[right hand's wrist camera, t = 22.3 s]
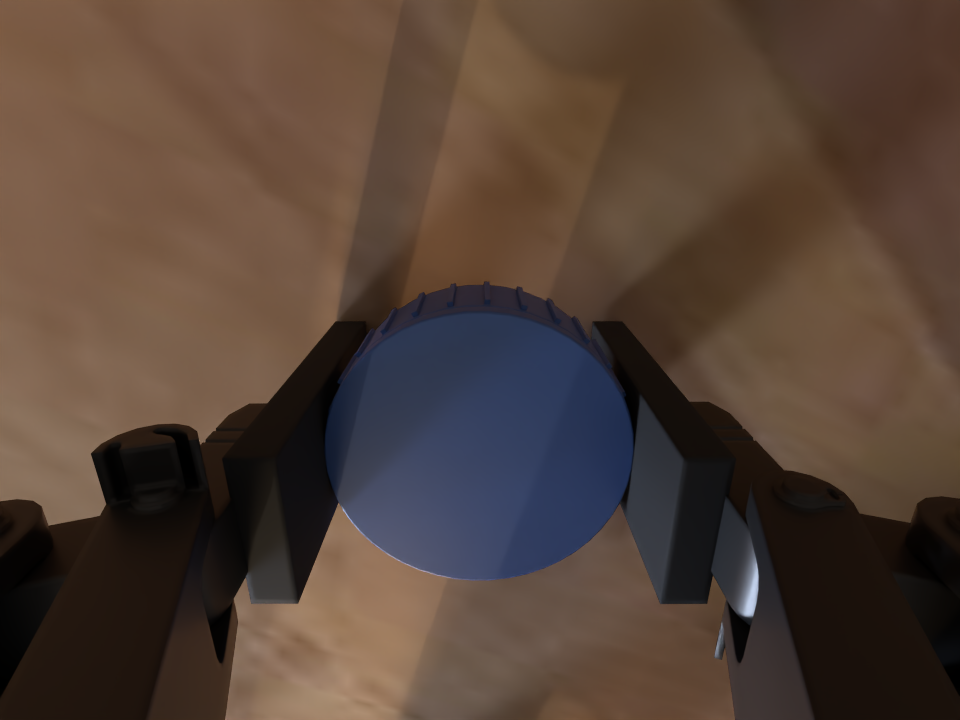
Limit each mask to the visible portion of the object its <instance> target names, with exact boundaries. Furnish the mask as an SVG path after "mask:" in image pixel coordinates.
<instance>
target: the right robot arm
mask: <svg viewBox="0 0 960 720" xmlns="http://www.w3.org/2000/svg"><path fill="white" fill-rule="evenodd" d="M365 338H366V324H365V321H336V322H335V323H334V324H333V325H332V327H331V328H330V329H329V330H328V331H327V333H326V334H325V335H324V336H323V337H322V339H321V340H320V341H319V342H318V343H317V345H316V346H315V347H314V348H313V349H312V351H311V352H310V353H309V354H308V355H307V357H306V358H305V359H304V360H303V361H302V363H301V364H300V365H299V366H298V367H297V369H296V370H295V371H294V372H293V373H292V375H291V376H290V377H289V378H288V379H287V381H286V382H285V383H284V384H283V385H282V387H281V388H280V389H279V390H278V391H277V393H276V394H275V395H274V396H273V397H272V399H271V400H270V401H269V402H268V403H267V404H248V405H246V406H244V407H243V408H241V409H239V410H237V411H235V412H234V413H232V414H230V415H228V416H227V418H226V419H225V420H224V421H223V422H222V423H221V424H220V425H219V426H218V427H217V428H216V431H213V432H212V433H211V435H210V436H209V437H208V438H207V439H206V442H205V443H202V444H201V445H200V443H199V438H198V433H197V431H196V430H194V429H193V428H191V427H190V426H186V425H180V424H158V425H152V426H147V427H142V428H137V429H134V430H131V431H128V432H126V433H123V434H120V435H117V436H115V437H113V438H112V439H110V440H108V441H106V442H104V443H102V444H101V445H100V446H99V447H98V448H96V449H95V450H94V451H93V452H92V453H91V455H92V459H93V462H94V465H95V468H96V472H97V475H98V478H99V482H100V485H101V488H102V491H103V495H104V498H105V501H106V506H105V508H104V510H103V511H102V513H101V515H100V516H97V517H93V518H87V519H82V520H77V521H71V522H66V523H61V524H55V525H50V526H48V523H47V520H46V518H45V515H44V512H43V509H42V506H40V505H39V504H37V503H35V502H34V501H30V500H19V499H16V500H8V501H0V720H225V716H226V708H227V701H228V693H229V686H230V678H231V670H232V663H233V655H234V648H235V640H236V633H237V625H238V619H237V613H236V608H235V603H234V597H235V595H236V593H237V592H238V590H239V588H240V586H241V584H242V583H243V581H244V579H245V577H246V580H247V585H248V590H249V595H250V599H251V604H298V603H299V600H300V598H301V595H302V593H303V590H304V588H305V585H306V583H307V580H308V578H309V575H310V573H311V570H312V568H313V565H314V563H315V560H316V557H317V555H318V552H319V550H320V547H321V545H322V542H323V540H324V537H325V535H326V532H327V530H328V527H329V525H330V522H331V520H332V517H333V515H334V512H335V510H336V507H337V505H338V500H337V497H336V495H335V493H334V491H333V489H332V486H331V483H330V479H329V476H328V472H327V467H326V460H325V450H324V437H325V429H326V423H327V417H328V414H329V413H328V410H329V407H330V405H331V404H332V402H333V399H334V397H335V395H336V393H337V391H338V389H339V387H340V385H341V384H339V383H337V382H338V380H339V378H340V377H341V375H342V373H343V372H344V370H345V369H346V367H347V365H348V364H349V362H350V360H351V359H352V357H353V356H354V354H355V353H356V352H357V351H358V349H359V347H360V346H361V344H362V343H363V341H364V339H365ZM593 339H596V341H597V342H598V344H599V346H600V347H601V349H602V351H603V352H604V354H605V356H606V357H607V359H608V361H609V362H610V364H611V366H612V368H611V369H612V371H613V372H614V374H615V376H616V377H617V379H618V381H619V382H620V384H621V386H622V388H623V389H624V391H625V393H626V396H625V397H624V399H625V401H626V404H627V407H628V409H629V412H630V416H631V421H632V426H633V431H634V455H633V464H632V470H631V474H630V478H629V482H628V485H627V487H626V490H625V492H624V495H623V497H622V500H621V501H620V504H621V507H622V509H623V512H624V514H625V517H626V519H627V522H628V524H629V527H630V529H631V532H632V534H633V537H634V539H635V542H636V544H637V547H638V549H639V552H640V554H641V557H642V559H643V562H644V564H645V567H646V569H647V572H648V574H649V577H650V579H651V582H652V584H653V587H654V589H655V592H656V594H657V597H658V599H659V602H660V604H707V602H708V597H709V592H710V587H711V582H712V577H713V575H714V577H715V579H716V581H717V583H718V585H719V586H720V588H721V590H722V592H723V594H724V595H725V597H726V603H725V608H724V612H723V617H722V621H721V626H720V631H719V635H718V640H717V644H716V650H715V656H714V658H717V659H721V660H722V657H723V652H724V648H726V654H727V662H728V669H729V677H730V684H731V692H732V699H733V706H734V714H735V720H960V499H958V498H950V497H942V496H941V497H931V498H925V499H924V500H922V501H920V502H919V503H917V506H916V509H915V512H914V514H913V517H912V520H911V523H907V522H902V521H896V520H891V519H885V518H880V517H875V516H869V515H864V514H860V513H859V512H858V510H857V509H856V507H855V505H854V503H853V502H852V501H851V500H850V499H849V498H848V496H847V495H846V494H845V493H844V492H842V491H841V490H839V489H838V488H836V487H834V486H833V485H831V484H830V483H828V482H825V481H823V480H821V479H818V478H816V477H813V476H811V475H807V474H802V473H798V472H794V471H784V470H783V469H782V468H781V467H780V466H779V465H778V464H777V463H776V461H775V460H774V459H773V458H772V457H771V456H770V455H769V454H768V453H767V452H766V451H765V450H764V449H763V448H762V447H761V446H760V445H759V444H758V443H757V441H753V437H752V436H751V435H750V434H749V433H748V432H747V431H746V430H745V429H742V426H741V425H740V424H739V423H738V421H737V420H736V419H735V418H734V417H733V416H732V415H731V414H730V413H728V412H726V411H725V410H723V409H721V408H719V407H717V406H715V405H714V404H712V403H710V402H689V401H688V400H687V399H686V397H685V396H684V395H683V394H682V393H681V391H680V390H679V389H678V388H677V387H676V385H675V384H674V383H673V382H672V381H671V379H670V378H669V377H668V376H667V375H666V373H665V372H664V371H663V370H662V369H661V367H660V366H659V365H658V364H657V363H656V361H655V360H654V359H653V358H652V357H651V355H650V354H649V353H648V352H647V351H646V349H645V348H644V347H643V346H642V345H641V343H640V342H639V341H638V340H637V339H636V337H635V336H634V335H633V334H632V333H631V331H630V330H629V329H628V328H627V327H626V325H625V324H624V323H623V322H622V321H596V322H593V324H592V337H591V341H592V340H593Z"/></svg>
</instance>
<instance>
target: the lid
mask: <svg viewBox="0 0 960 720" xmlns="http://www.w3.org/2000/svg"><path fill="white" fill-rule="evenodd" d="M611 368H612V366H611V364H610V362H609V361H608V359H607V357H606V356H605V354H604V352H603V351H602V349H601V347H600V346H599V344H598V342H597V341H596V339H593V340H592V341H591V339H590V338H589V337H588V335H587V334H586V333H585V331H584V329H583V327H582V326H581V324H580V322H579V320H578V319H577V318H576V317H575V316H574V317H573V318H571V317H569V316H568V315H567V314H565V313H564V312H563V311H561V310H560V309H559V308H557V307H556V306H555V305H554V303H553V301H552V300H551V299H549V298H548V299H547V300H546V301H545V300H543V299H541V298H539V297H536V296H534V295H531V294H529V293H526V292H524V291H523V289H522V288H521V287H518V286H517V289H511V288H507V287H501V286H492V285H490V283H489V282H484V285H465V286H458V287H457V286H456V283H455V284H451V286H450V288H447V289H443V290H439V291H436V292H432V293H430V294H427V295H425V293H424V292H423V293H420V294H419V296H418V298H417V299H416V300H413V301H412V302H410V303H408V304H407V305H405V306H403V307H402V308H400V309H398V310H397V309H396V308H394V309H392V310H391V312H390V314H389V316H388V318H387V319H386V320H385V321H384V322H383V323H382V324H381V325H380V326H379V327H378V328H377V329H376V330H374V329H373V328H372V329H371V330H370V331H369V333H368V334H367V336H366V338H365V339H364V341H363V343H362V344H361V346H360V347H359V349H358V351H357V352H356V353H355V354H354V356H353V357H352V359H351V360H350V362H349V364H348V365H347V367H346V369H345V370H344V372H343V373H342V375H341V377H340V378H339V380H338V382H337V383H339V384H341V385H340V387H339V389H338V391H337V393H336V395H335V397H334V399H333V402H332V404H331V405H330V407H329V410H328V413H329V414H328V417H327V423H326V429H325V437H324V450H325V460H326V467H327V472H328V476H329V479H330V483H331V486H332V489H333V491H334V493H335V495H336V497H337V500H338V502H339V504H340V505H341V507H342V509H343V510H344V512H345V513H346V515H347V516H348V518H349V519H350V520H351V522H352V523H353V524H354V525H355V526H356V528H357V529H358V530H359V531H360V532H361V533H362V534H363V535H364V536H365V537H366V538H367V539H368V540H369V541H371V542H372V543H373V544H374V545H375V546H377V547H378V548H380V549H381V550H382V551H384V552H385V553H386V554H388V555H390V556H392V557H393V558H395V559H397V560H399V561H400V562H402V563H404V564H407V565H409V566H411V567H414V568H416V569H418V570H421V571H424V572H428V573H431V574H434V575H438V576H443V577H448V578H453V579H463V580H496V579H505V578H511V577H516V576H520V575H525V574H528V573H531V572H534V571H537V570H540V569H543V568H546V567H548V566H550V565H552V564H554V563H557V562H559V561H561V560H562V559H564V558H566V557H567V556H569V555H571V554H572V553H574V552H576V551H577V550H578V549H579V548H581V547H582V546H583V545H585V544H586V543H587V542H588V541H590V540H591V539H592V538H593V537H594V536H595V535H596V534H597V533H598V532H599V531H600V530H601V529H602V528H603V526H604V525H605V524H606V523H607V521H608V520H609V519H610V517H611V516H612V515H613V513H614V511H615V510H616V508H617V506H618V505H619V503H620V501H621V500H622V497H623V495H624V492H625V490H626V487H627V485H628V482H629V478H630V474H631V470H632V464H633V455H634V431H633V426H632V421H631V416H630V412H629V409H628V407H627V404H626V401H625V399H624V397H625V396H626V393H625V391H624V389H623V388H622V386H621V384H620V382H619V381H618V379H617V377H616V376H615V374H614V372H613V371H612V369H611Z"/></svg>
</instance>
